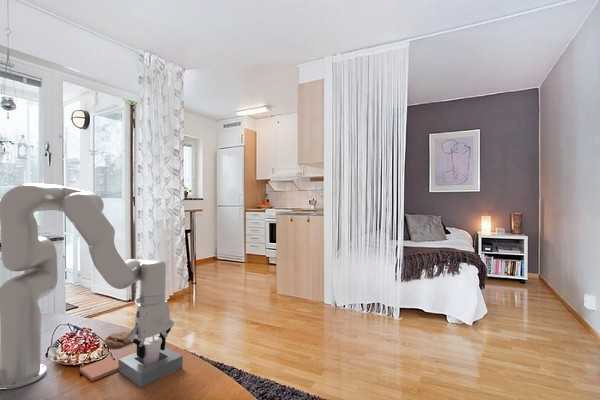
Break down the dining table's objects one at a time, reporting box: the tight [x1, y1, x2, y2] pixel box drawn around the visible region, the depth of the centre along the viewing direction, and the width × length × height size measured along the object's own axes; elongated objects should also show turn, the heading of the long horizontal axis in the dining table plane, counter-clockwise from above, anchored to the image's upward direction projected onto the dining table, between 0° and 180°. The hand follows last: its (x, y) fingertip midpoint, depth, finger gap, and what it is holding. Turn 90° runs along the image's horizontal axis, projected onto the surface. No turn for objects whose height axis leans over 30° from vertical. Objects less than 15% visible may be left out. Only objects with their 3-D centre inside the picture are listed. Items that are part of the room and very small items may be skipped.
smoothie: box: [143, 335, 162, 366], centre depth 105 cm, size 6×6×14 cm
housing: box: [117, 346, 184, 388], centre depth 105 cm, size 14×14×4 cm
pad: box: [79, 356, 119, 382], centre depth 104 cm, size 9×9×1 cm
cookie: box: [103, 331, 133, 349], centre depth 124 cm, size 10×11×3 cm
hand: (151, 352), depth 105 cm, fingers closed on smoothie, 6 cm apart
